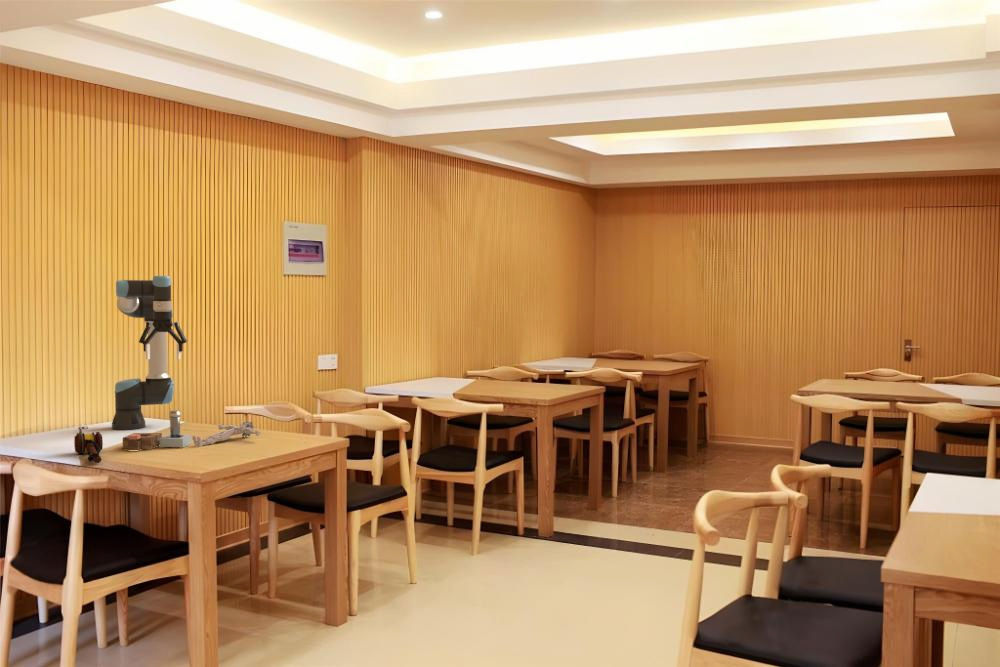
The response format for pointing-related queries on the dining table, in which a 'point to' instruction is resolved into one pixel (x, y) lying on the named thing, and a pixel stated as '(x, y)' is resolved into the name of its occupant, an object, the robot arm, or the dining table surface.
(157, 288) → the robot arm
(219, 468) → the dining table surface
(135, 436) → the key
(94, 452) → the gavel
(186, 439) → the grey square frame
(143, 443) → the socket block
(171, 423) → the peg
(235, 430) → the toy
